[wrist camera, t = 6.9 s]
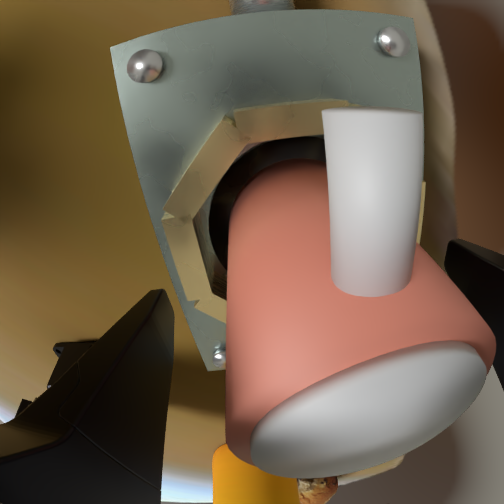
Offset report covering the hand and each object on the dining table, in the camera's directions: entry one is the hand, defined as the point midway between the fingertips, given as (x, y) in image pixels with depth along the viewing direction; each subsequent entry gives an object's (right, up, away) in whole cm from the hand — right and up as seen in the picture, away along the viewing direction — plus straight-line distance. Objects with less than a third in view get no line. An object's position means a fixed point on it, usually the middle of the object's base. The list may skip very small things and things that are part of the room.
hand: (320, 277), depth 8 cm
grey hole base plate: (-1, +5, +5) cm, 7 cm away
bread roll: (+7, -35, +29) cm, 46 cm away
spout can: (0, +3, +2) cm, 3 cm away
